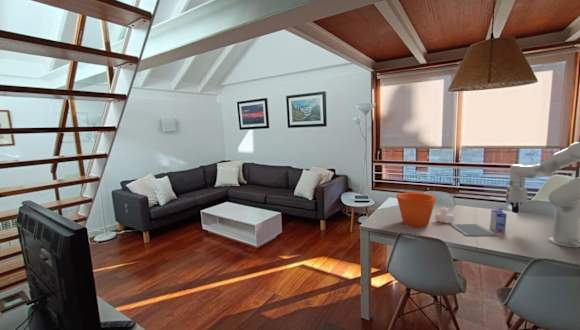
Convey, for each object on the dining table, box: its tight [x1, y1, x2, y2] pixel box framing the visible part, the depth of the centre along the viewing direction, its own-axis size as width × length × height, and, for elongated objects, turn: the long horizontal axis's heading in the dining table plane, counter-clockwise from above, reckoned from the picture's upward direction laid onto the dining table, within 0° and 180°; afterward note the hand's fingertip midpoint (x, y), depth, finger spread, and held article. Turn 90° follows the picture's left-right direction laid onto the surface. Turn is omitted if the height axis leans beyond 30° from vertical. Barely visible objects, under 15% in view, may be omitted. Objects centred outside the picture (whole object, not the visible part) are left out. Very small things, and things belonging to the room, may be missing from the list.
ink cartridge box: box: [489, 207, 507, 234], centre depth 175 cm, size 10×6×14 cm, turn 161°
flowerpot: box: [396, 191, 437, 228], centre depth 192 cm, size 25×25×20 cm
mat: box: [449, 223, 498, 237], centre depth 177 cm, size 20×18×1 cm
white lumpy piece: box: [434, 206, 455, 224], centre depth 195 cm, size 12×8×11 cm
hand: (515, 212), depth 174 cm, fingers closed
